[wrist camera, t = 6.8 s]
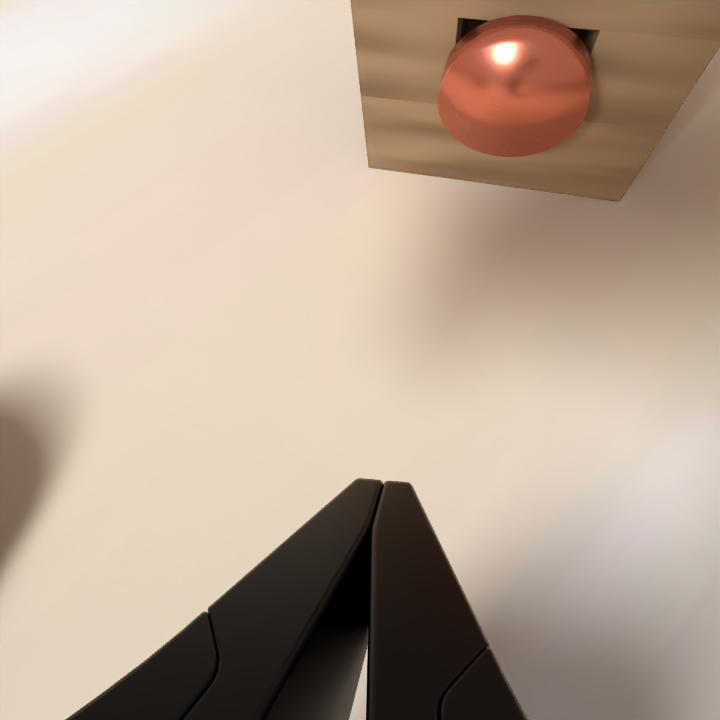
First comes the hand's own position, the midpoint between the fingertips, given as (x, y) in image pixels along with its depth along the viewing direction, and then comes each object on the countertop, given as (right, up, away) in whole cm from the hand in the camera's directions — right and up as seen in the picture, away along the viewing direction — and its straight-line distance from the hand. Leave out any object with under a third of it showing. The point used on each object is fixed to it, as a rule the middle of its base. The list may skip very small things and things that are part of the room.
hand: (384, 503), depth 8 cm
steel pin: (+7, +18, +15) cm, 25 cm away
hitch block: (+7, +15, +18) cm, 24 cm away
